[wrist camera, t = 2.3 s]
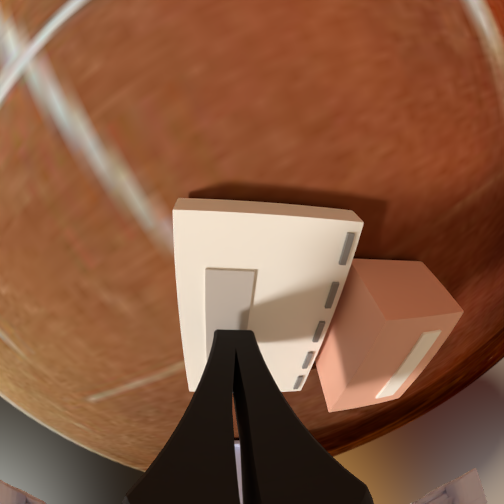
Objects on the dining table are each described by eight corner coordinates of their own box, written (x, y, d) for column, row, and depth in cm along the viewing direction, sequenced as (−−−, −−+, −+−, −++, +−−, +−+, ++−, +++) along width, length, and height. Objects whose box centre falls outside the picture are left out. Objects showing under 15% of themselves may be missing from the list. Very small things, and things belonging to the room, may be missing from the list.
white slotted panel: (297, 376, 14) (301, 392, 13) (190, 376, 14) (189, 393, 13) (352, 210, 9) (365, 224, 8) (178, 197, 9) (171, 211, 8)
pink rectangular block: (377, 349, 14) (399, 399, 11) (313, 355, 13) (329, 413, 10) (421, 261, 11) (465, 313, 8) (348, 258, 10) (387, 322, 7)
